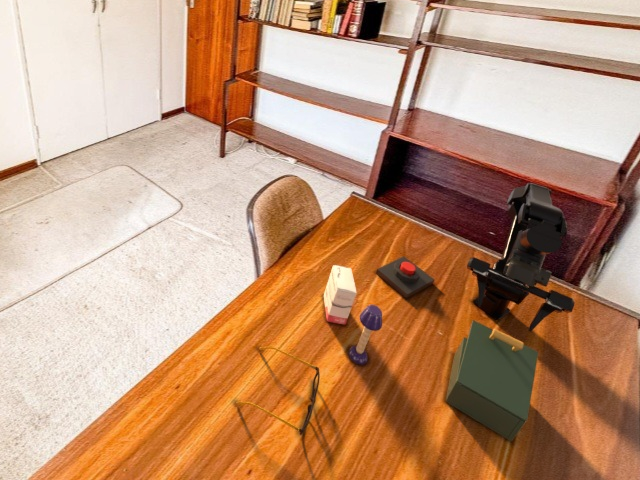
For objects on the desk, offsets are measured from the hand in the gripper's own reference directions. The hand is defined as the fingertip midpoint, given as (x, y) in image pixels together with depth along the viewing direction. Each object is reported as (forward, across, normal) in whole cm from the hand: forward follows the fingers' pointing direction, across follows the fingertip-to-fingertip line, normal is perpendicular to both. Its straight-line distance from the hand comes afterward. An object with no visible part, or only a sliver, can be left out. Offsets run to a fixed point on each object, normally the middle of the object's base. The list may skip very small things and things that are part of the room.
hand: (503, 318), depth 89 cm
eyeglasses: (+37, -30, -25) cm, 54 cm away
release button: (-1, -22, +14) cm, 26 cm away
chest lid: (+10, +2, -6) cm, 12 cm away
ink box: (+18, -32, -3) cm, 36 cm away
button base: (+2, -23, +16) cm, 28 cm away
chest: (+17, +1, +1) cm, 17 cm away
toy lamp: (+24, -22, -9) cm, 34 cm away
